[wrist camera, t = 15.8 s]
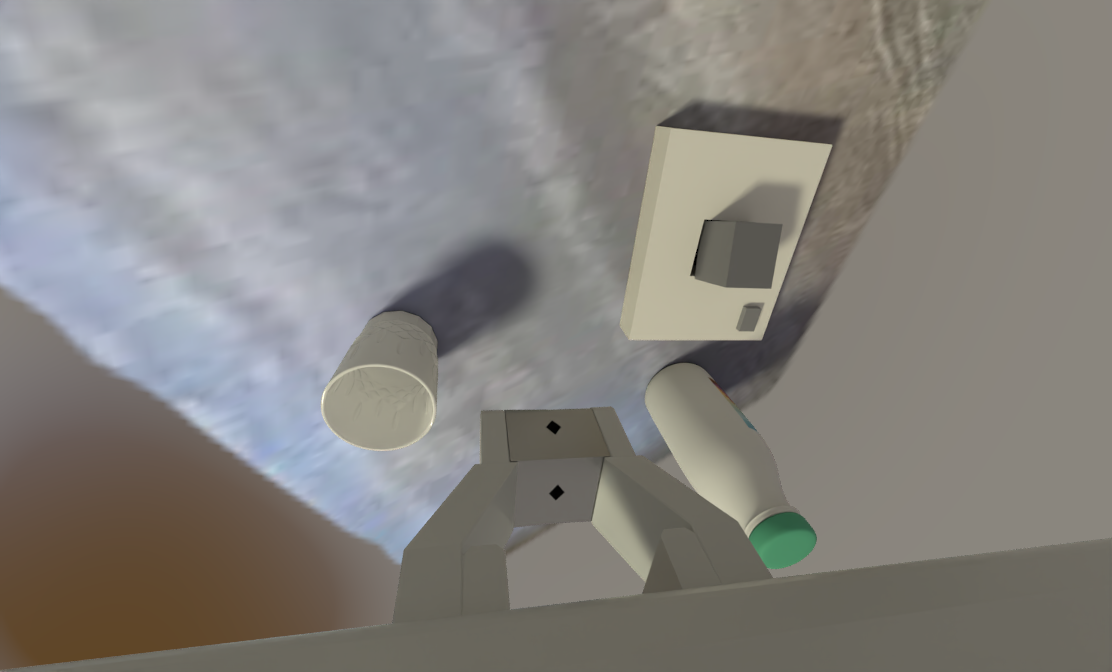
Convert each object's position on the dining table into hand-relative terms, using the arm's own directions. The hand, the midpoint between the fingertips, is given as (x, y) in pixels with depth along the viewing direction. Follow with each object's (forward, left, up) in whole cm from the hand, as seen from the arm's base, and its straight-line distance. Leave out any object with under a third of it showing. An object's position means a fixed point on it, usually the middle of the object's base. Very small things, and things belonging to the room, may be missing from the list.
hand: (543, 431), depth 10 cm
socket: (+3, +20, -29) cm, 35 cm away
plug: (+4, +20, -29) cm, 35 cm away
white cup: (+14, -8, -29) cm, 33 cm away
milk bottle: (+20, +21, -29) cm, 41 cm away
